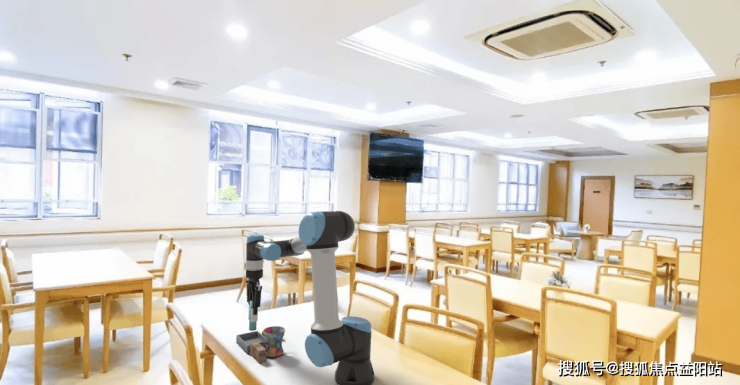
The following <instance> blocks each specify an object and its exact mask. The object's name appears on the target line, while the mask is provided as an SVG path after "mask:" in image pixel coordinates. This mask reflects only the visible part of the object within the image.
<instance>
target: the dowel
mask: <svg viewBox="0 0 740 385" xmlns="http://www.w3.org/2000/svg"><path fill="white" fill-rule="evenodd" d="M251 307H252V300H251V301H250V314H249V313H248V315H249V320H248V330H249V331H250V332H254V331H257V322H258V321H255V322H251Z"/></svg>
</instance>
